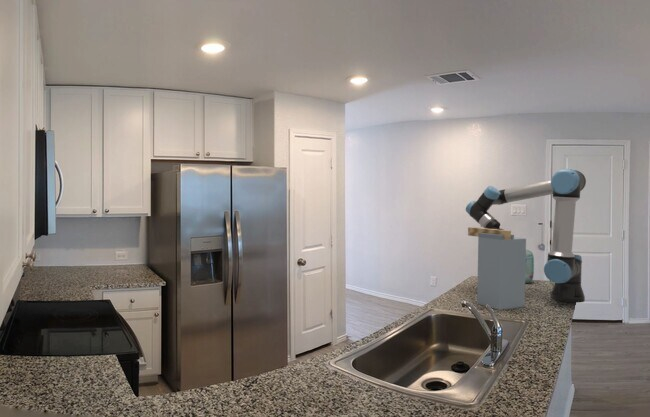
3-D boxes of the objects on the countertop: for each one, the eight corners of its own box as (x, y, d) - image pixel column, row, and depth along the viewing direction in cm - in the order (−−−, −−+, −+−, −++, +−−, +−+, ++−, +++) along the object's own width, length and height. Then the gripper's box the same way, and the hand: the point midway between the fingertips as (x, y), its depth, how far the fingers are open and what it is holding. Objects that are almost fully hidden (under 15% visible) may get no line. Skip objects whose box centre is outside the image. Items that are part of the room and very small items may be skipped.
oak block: (468, 235, 234) (468, 227, 234) (474, 235, 236) (474, 227, 236) (504, 239, 214) (504, 230, 213) (510, 239, 215) (510, 230, 215)
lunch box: (485, 281, 285) (486, 245, 284) (486, 278, 294) (487, 244, 293) (533, 284, 274) (534, 248, 273) (533, 281, 284) (534, 246, 283)
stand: (477, 303, 226) (478, 233, 225) (501, 300, 233) (502, 232, 232) (499, 310, 214) (501, 235, 213) (524, 306, 221) (526, 234, 220)
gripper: (495, 230, 258) (525, 258, 245) (474, 227, 241) (505, 256, 228) (504, 220, 255) (535, 247, 242) (484, 216, 238) (516, 245, 225)
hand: (520, 252), depth 235 cm, fingers open, 12 cm apart
